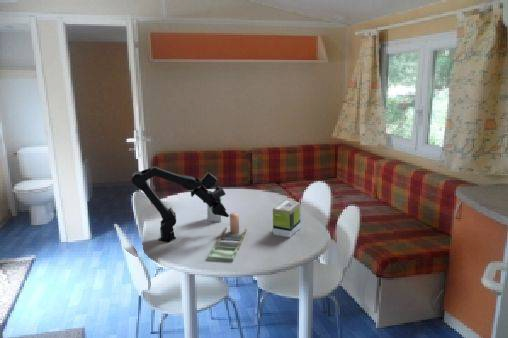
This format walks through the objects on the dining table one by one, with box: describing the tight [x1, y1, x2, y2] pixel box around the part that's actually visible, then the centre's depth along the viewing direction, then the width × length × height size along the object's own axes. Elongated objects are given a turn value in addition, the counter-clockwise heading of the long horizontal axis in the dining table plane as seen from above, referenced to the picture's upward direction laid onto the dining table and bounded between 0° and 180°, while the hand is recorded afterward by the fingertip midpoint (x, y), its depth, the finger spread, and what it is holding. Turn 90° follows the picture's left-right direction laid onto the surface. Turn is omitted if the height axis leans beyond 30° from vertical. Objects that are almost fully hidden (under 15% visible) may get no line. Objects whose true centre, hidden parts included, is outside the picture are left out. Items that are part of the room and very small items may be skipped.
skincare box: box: [206, 196, 224, 223], centre depth 219 cm, size 8×6×15 cm
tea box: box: [272, 199, 302, 238], centre depth 202 cm, size 15×10×15 cm, turn 152°
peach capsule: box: [229, 212, 240, 234], centre depth 202 cm, size 5×5×10 cm
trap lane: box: [207, 227, 248, 263], centre depth 189 cm, size 36×12×1 cm, turn 171°
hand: (226, 213), depth 200 cm, fingers open, 9 cm apart
